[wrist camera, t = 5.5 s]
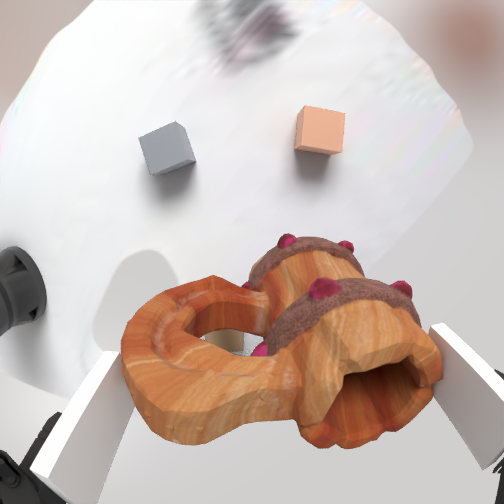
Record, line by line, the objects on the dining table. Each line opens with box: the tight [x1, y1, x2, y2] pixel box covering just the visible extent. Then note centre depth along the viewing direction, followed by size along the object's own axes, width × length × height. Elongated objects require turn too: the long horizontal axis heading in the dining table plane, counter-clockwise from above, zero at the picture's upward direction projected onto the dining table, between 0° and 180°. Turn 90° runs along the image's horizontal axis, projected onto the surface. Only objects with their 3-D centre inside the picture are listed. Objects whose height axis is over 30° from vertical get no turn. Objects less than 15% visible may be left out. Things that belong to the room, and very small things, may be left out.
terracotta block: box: [294, 106, 345, 155], centre depth 32 cm, size 5×5×5 cm
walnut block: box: [205, 329, 244, 352], centre depth 39 cm, size 5×5×5 cm
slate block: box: [139, 121, 196, 175], centre depth 32 cm, size 5×5×5 cm
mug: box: [121, 234, 443, 449], centre depth 15 cm, size 15×8×15 cm, turn 84°
